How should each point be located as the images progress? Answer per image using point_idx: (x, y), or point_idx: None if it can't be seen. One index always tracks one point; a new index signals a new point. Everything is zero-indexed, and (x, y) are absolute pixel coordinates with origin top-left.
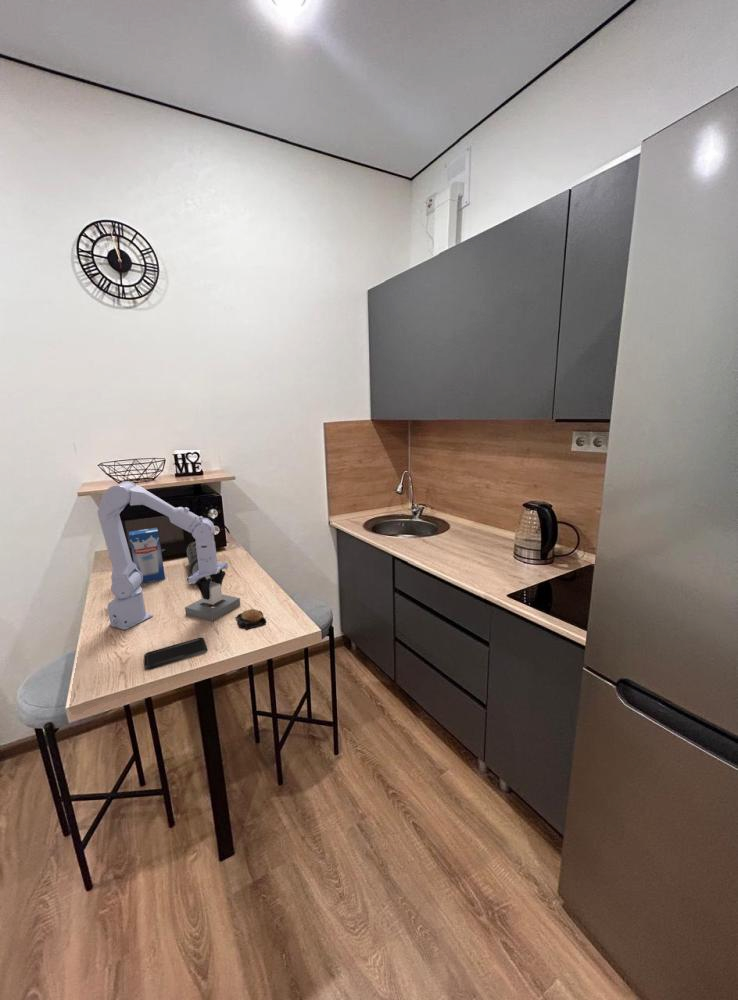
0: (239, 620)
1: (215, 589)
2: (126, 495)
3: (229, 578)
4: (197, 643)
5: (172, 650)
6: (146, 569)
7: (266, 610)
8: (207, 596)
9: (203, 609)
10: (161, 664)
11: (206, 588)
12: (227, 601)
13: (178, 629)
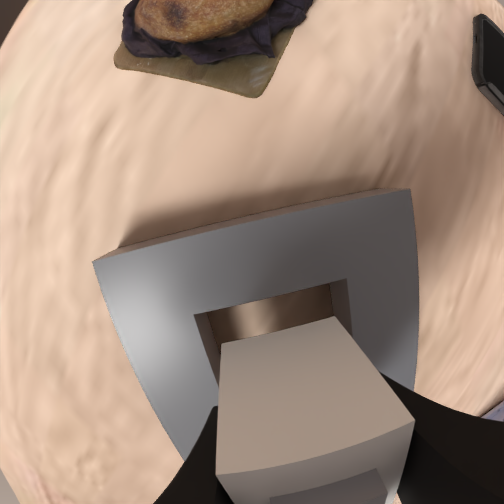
0: (285, 14)
1: (320, 419)
2: None
3: (74, 494)
4: (497, 69)
5: None
6: None
7: (82, 40)
8: (392, 381)
9: (395, 318)
10: None
11: (474, 419)
12: (197, 292)
13: (487, 272)
